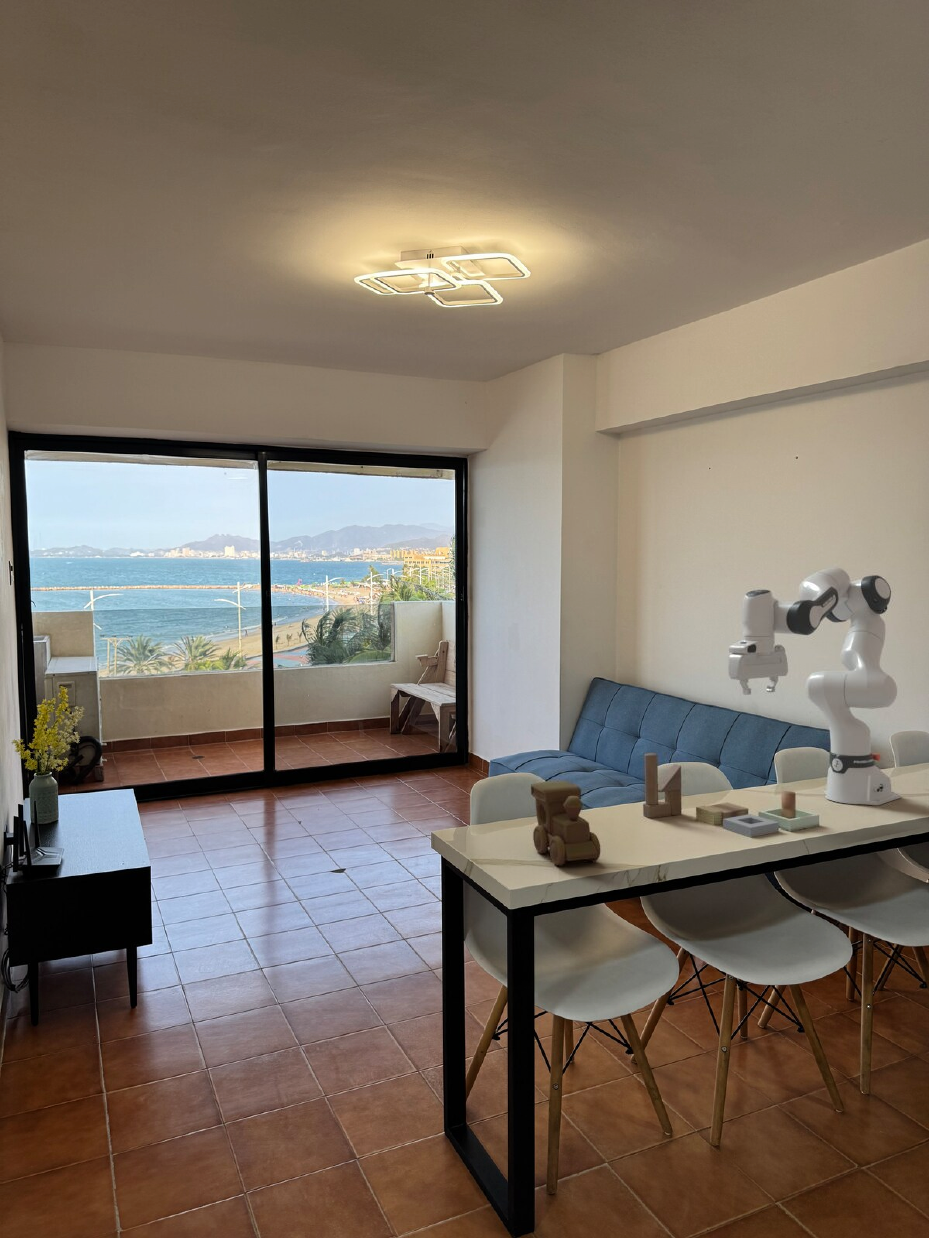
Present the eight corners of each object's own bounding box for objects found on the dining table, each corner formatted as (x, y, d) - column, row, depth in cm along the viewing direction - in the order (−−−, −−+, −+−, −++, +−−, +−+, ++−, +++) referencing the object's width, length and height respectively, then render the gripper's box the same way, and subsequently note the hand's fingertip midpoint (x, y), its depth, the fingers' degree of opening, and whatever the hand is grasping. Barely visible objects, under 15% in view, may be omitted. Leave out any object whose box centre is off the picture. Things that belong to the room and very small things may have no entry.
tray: (787, 816, 241) (787, 806, 241) (819, 825, 231) (819, 814, 231) (758, 822, 236) (758, 811, 236) (789, 831, 226) (789, 820, 226)
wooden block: (682, 814, 245) (681, 752, 245) (649, 818, 242) (648, 755, 241) (675, 811, 249) (674, 750, 248) (642, 815, 245) (641, 753, 245)
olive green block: (704, 817, 241) (704, 805, 241) (722, 823, 235) (721, 810, 235) (696, 819, 240) (696, 807, 240) (713, 825, 234) (713, 812, 234)
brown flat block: (727, 814, 246) (727, 802, 246) (748, 820, 239) (748, 808, 239) (703, 818, 242) (703, 806, 242) (724, 825, 235) (724, 812, 235)
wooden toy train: (528, 847, 217) (527, 783, 217) (569, 842, 221) (568, 779, 220) (560, 871, 198) (559, 800, 198) (605, 865, 201) (603, 796, 201)
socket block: (750, 822, 235) (750, 813, 235) (778, 831, 226) (778, 822, 226) (723, 828, 231) (722, 818, 231) (750, 837, 222) (750, 827, 222)
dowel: (788, 819, 236) (788, 790, 235) (798, 822, 232) (798, 793, 232) (778, 821, 234) (778, 792, 234) (789, 823, 231) (788, 794, 231)
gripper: (776, 643, 255) (776, 689, 255) (724, 647, 246) (725, 694, 246) (793, 644, 249) (793, 691, 250) (740, 648, 240) (741, 696, 241)
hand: (759, 693), depth 248 cm, fingers open, 8 cm apart
